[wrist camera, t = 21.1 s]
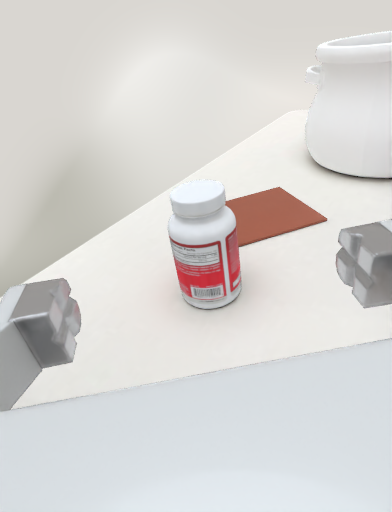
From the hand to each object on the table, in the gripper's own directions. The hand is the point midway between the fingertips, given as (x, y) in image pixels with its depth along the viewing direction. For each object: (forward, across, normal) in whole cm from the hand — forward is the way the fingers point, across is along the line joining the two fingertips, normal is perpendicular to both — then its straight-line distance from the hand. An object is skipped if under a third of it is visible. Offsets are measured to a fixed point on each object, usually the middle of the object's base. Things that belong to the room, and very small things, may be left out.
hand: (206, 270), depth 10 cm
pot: (+45, -35, +16) cm, 60 cm away
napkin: (+32, -10, +16) cm, 38 cm away
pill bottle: (+18, -1, +17) cm, 25 cm away
